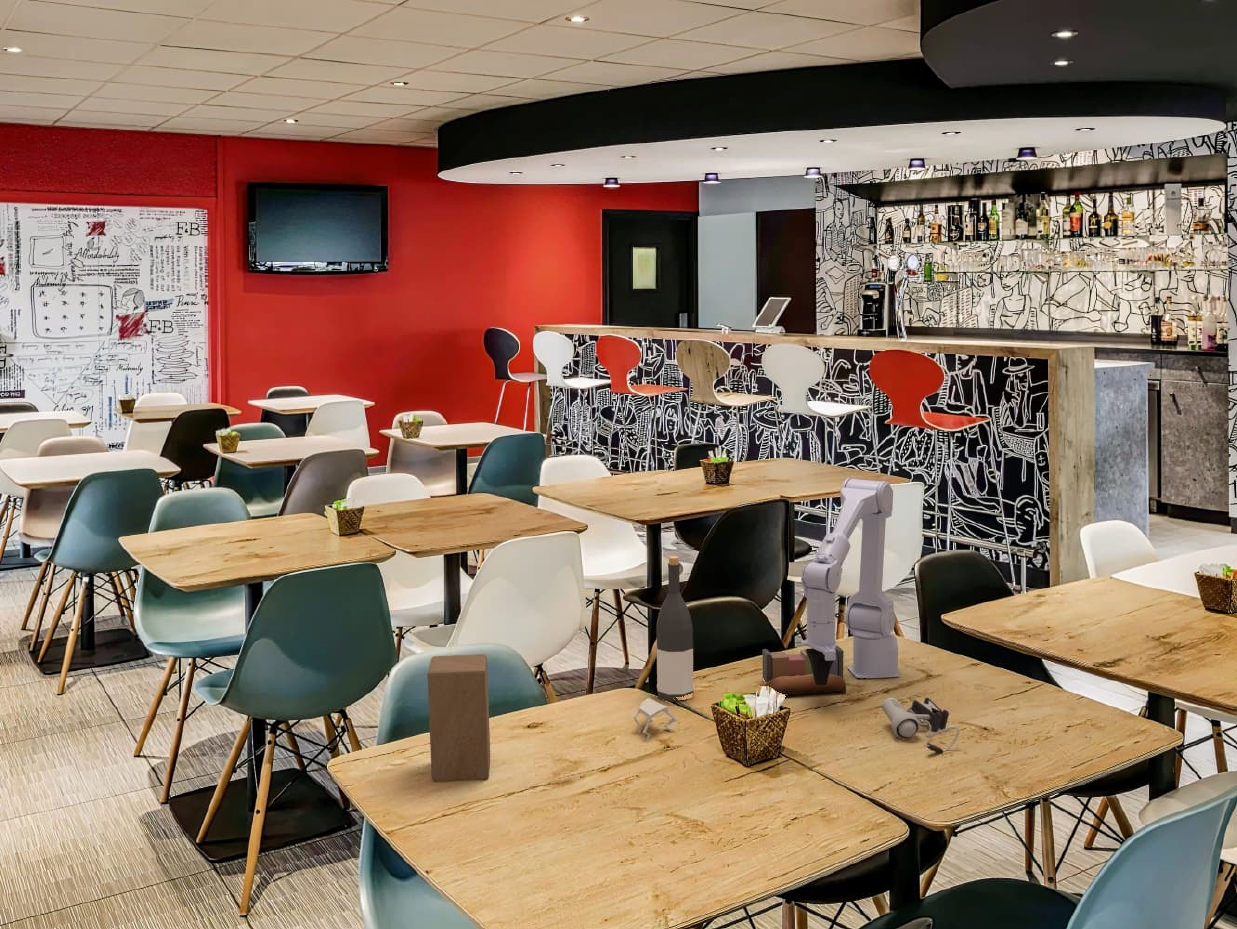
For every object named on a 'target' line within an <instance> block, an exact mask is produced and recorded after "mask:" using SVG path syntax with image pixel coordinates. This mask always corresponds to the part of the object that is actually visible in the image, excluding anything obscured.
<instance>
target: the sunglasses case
mask: <svg viewBox="0 0 1237 929" xmlns="http://www.w3.org/2000/svg"><path fill="white" fill-rule="evenodd" d="M760 686H769V687H771V688H773V689H774V690H775V691H777V692H779V693H782V694H787V695H786V696H791V695H796V694H797V695H799V694H802V695H803V694H815V693H822V694H823V693H832V692H833V693H834V692H843V691H844V692H846V693H847V684H846V681H845V680H844V677H843V678H842V677H841V676H838V675H833V674H829V677H828V681H827V684H826V685H816V683H815V681H814V677H813V674H809V675H803V676H800V675H796V676H781V677H778V678H775V679H772V680H770V681H768V682H766V683H764V682H763V683H762V685H761V684H760ZM844 692H843V693H844Z"/></svg>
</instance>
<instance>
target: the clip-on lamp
mask: <svg viewBox="0 0 1237 929" xmlns="http://www.w3.org/2000/svg"><path fill="white" fill-rule="evenodd" d="M911 704H912V705H911V707H909V708H907V709H905V708H904V706H903V705H902V703H901V702H900V701H899V700H898V699H897V698H895V697H888V698H885V700H884V701H883V703H882V706H881V707H882V711H883V712H884V713H885V716H887V718H888V720H889V721H890V722H891V723H890V725H891V730H892V732H893V733H894V735H895V736H896V737H898V739H902V740H908V739H911V738H913V737H914V736H916V735H917V733H918V732H919V729H920V723H921V724H927V725H928V726H929V730H928V732H927V733H926V738H932V737H934V736H937V735H939V734H943V733H945V732H947V731H950V730H956V733H955V736H954V738H953V740H951V741H952V742H950V744H949V745H948V746H946V748H945V749H942V748H941V747H939V746H938V745H937V746H936V745H935V744H932V743H929V742H927V743H926V744H923V746H924V747H926V748H928V750H930V752H931V751H933V752H935V753H939V754H942V753H944V752H947V751H948V750H949V749H951V747H952V746H953V745H954V743H955V742H956V740H957V738H958V737H959V734H960V729H959V727H957V726H949V727H947V723H948V720H949V719H948V718H949V715H950V713H949V711H948V710H947V709H943V710H942V709H941V708H940V707H939V706H938V705H937V704H936V703H935V701H933V700H931V699H930V697H925V698H924V701H923V702H921V701H919V700H912V703H911ZM931 731H932V732H933V733H931ZM930 733H931V734H930Z"/></svg>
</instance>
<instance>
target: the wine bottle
mask: <svg viewBox="0 0 1237 929" xmlns="http://www.w3.org/2000/svg"><path fill="white" fill-rule="evenodd" d="M679 559H680V558H679V556H675V555H671V556H669V557H668V563H667V567H668V568H667V569H668V572H667V573H668V578H667V580H668V592H667V595H666V597H665V599H664V601H663V602H662V604H661V606H660V609H659V612H658V616H657V620H656V676H657V678H656V682H657V684H656V685H657V697H658V699H660V700H663V701H667V702H677V701H676V700H678V699H677V698H676V697H682V696H683V697H684V696H685V695H688V694H691V693H693V694H694V634H693V632H694V631H693V630H694V628H693V627H694V626H693V622H692V618H691V614H690V611H689V608H688V606H687V604H686V601H685V600H684V598H683V597H682V594H681V591H680V589H681V586H680V585H681V584H680V568H681V564H680V562H679ZM673 698H674V699H675V700H674V699H673Z"/></svg>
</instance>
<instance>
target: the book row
mask: <svg viewBox="0 0 1237 929" xmlns="http://www.w3.org/2000/svg"><path fill="white" fill-rule="evenodd" d="M805 650H806V649H800V652H799V653H797V654H795V653H794V654H787V653H786V652H785V651H778V652H777V651H775V652H774V651H772V652H770V651H769V649H767V648H763V649H762V679H763V678H764V680H765V682H768V681H770V680H772V679H775V678H778V677H781V676H796V675H800V676H803V675H809V674H813V672H812V667H811V663H810V660H809V658H808V655H807V653H806V651H805ZM835 651H836V654H837V656H836V660H834V662H833V664H832V666H831V669H830V672H829V674H833V675H838V676H841V677H842V678H843V679H844V650H843V649H842V648H841V647H840V646H839V645H836V647H835Z"/></svg>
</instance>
